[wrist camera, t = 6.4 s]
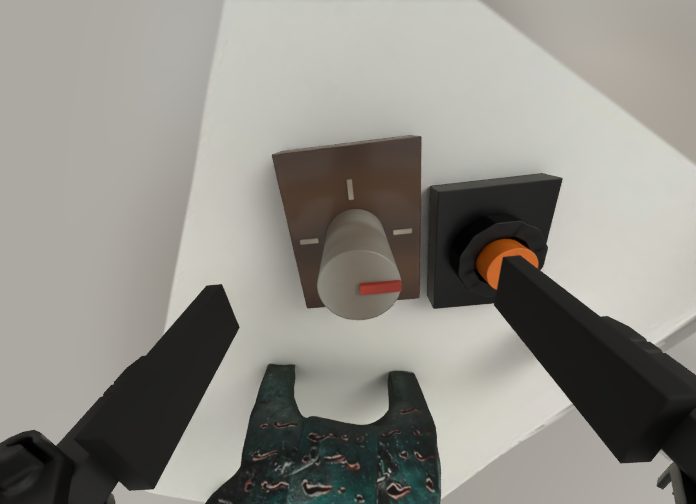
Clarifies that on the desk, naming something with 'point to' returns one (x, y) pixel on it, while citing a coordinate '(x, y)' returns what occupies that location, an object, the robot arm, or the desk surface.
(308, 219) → the panel
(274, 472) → the ceramic cat
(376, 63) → the desk surface
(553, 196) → the button box
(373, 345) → the desk surface
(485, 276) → the button
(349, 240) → the knob
